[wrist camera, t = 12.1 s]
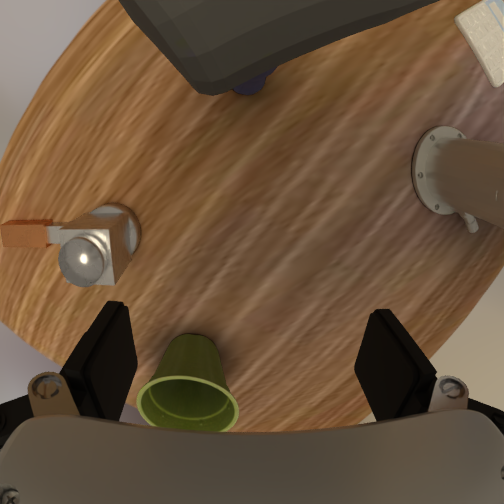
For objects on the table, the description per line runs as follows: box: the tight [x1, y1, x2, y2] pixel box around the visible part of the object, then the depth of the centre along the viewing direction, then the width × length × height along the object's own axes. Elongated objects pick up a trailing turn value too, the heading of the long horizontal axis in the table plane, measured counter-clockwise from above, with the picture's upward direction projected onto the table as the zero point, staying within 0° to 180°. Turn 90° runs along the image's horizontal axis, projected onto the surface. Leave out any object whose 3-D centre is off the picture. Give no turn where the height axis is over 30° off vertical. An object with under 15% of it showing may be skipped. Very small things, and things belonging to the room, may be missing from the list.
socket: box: [58, 213, 132, 287], centre depth 28 cm, size 6×6×8 cm
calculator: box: [454, 0, 504, 88], centre depth 27 cm, size 13×20×2 cm, turn 131°
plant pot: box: [137, 334, 239, 432], centre depth 36 cm, size 12×12×11 cm
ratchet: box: [0, 202, 141, 255], centre depth 31 cm, size 20×7×6 cm, turn 87°
